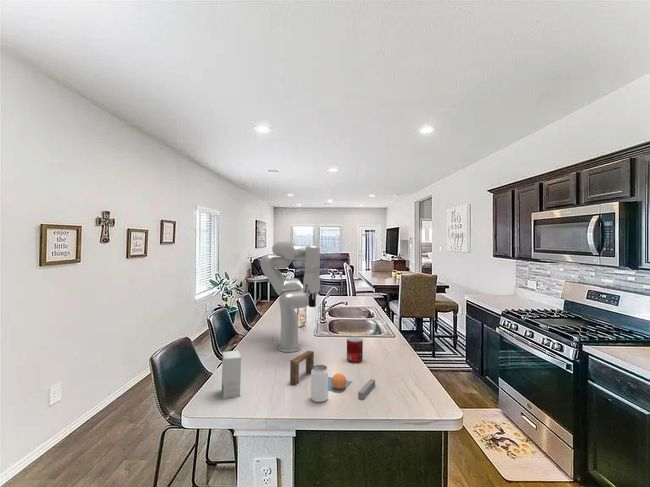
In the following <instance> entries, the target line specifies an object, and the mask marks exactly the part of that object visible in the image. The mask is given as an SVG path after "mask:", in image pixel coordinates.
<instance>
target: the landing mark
mask: <svg viewBox="0 0 650 487" xmlns="http://www.w3.org/2000/svg"><path fill="white" fill-rule="evenodd" d="M332 378H333V376H332V377H331V376H328V392H334V393H337V394H341V393H342V392H343V391H344V390H345V389H347V388H348V386H349V385H351V383H353V381H352V380H351V381H350V380H347V379H346V385H345V387H344V388H342V389H336V388H335V387H334V386H333V385H332Z"/></svg>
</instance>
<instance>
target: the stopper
mask: <svg viewBox="0 0 650 487" xmlns="http://www.w3.org/2000/svg"><path fill="white" fill-rule="evenodd" d="M375 387H376V379H374V378H373V379H372V378H370V379H369V380H368V381H367V382H366V383H365V384H364V385H363V386H362V387H361V389H359V391H358V393H357V399H359V400H364V399H365V398H366V397H367V396H368V395H369V393H371V391H372V390H374V388H375Z"/></svg>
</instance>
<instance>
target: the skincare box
mask: <svg viewBox="0 0 650 487" xmlns="http://www.w3.org/2000/svg"><path fill="white" fill-rule="evenodd" d="M221 365H222V367H221V393H222V397H223V399H224V400H225V399H230V398H237V397H240V396H241V377H242V375H241V371H242V370H241V369H242V357H241V353H240V352H239V350H230V351H222V364H221Z"/></svg>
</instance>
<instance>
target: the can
mask: <svg viewBox="0 0 650 487" xmlns="http://www.w3.org/2000/svg"><path fill="white" fill-rule="evenodd" d="M328 377H329V370H328V366H326V365H324V364H316V365H314V366H313V367H312V371H311V374H310V379H311V380H310V382H311V383H310V398H311V401H313V402H315V403H324V402H326V401H327V400H328V398H329V391H328Z"/></svg>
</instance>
